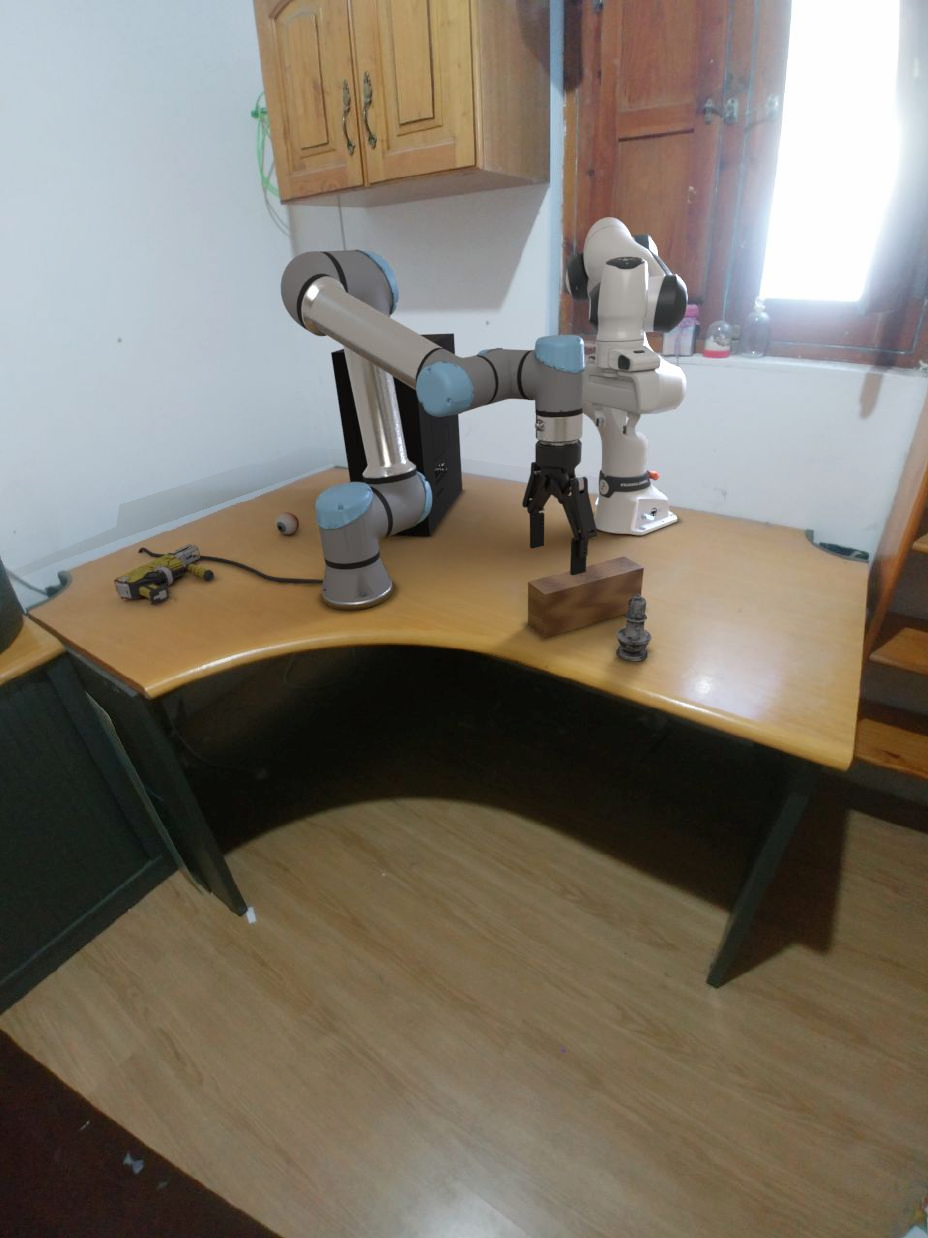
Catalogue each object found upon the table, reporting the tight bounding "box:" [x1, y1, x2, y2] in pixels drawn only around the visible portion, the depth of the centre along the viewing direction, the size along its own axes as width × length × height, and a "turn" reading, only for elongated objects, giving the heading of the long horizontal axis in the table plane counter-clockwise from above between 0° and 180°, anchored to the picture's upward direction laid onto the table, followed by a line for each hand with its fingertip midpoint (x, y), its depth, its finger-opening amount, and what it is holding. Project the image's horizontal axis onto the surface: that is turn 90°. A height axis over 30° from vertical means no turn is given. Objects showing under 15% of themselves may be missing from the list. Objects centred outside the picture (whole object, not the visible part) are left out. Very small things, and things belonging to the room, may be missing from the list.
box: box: [527, 556, 645, 639], centre depth 116 cm, size 22×6×9 cm, turn 115°
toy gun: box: [113, 543, 215, 606], centre depth 141 cm, size 5×24×15 cm
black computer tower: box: [330, 332, 463, 537], centre depth 165 cm, size 38×20×45 cm, turn 167°
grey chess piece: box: [616, 593, 652, 662], centre depth 103 cm, size 6×6×12 cm
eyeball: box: [275, 511, 300, 536], centre depth 163 cm, size 6×6×6 cm
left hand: (556, 559), depth 109 cm, fingers open, 13 cm apart
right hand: (613, 430), depth 121 cm, fingers open, 8 cm apart
